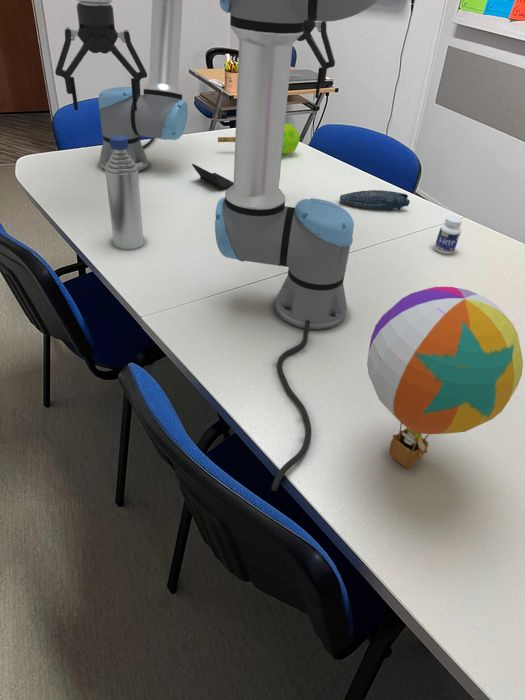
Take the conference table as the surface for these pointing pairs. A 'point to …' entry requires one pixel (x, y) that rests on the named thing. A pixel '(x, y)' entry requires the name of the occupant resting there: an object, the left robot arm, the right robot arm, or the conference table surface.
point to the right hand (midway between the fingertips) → (290, 94)
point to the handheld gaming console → (213, 178)
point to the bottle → (124, 200)
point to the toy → (442, 365)
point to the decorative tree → (289, 139)
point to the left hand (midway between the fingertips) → (106, 109)
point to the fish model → (376, 199)
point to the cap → (119, 142)
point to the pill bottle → (448, 235)
